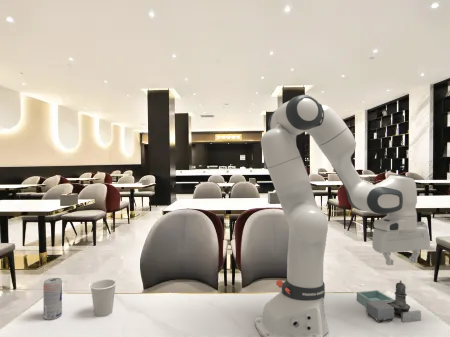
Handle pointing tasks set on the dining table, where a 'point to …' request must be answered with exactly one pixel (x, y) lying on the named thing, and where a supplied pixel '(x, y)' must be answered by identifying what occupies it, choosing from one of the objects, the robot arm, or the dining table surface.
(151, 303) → the dining table surface
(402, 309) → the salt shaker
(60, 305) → the energy drink
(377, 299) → the tray
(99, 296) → the dixie cup
